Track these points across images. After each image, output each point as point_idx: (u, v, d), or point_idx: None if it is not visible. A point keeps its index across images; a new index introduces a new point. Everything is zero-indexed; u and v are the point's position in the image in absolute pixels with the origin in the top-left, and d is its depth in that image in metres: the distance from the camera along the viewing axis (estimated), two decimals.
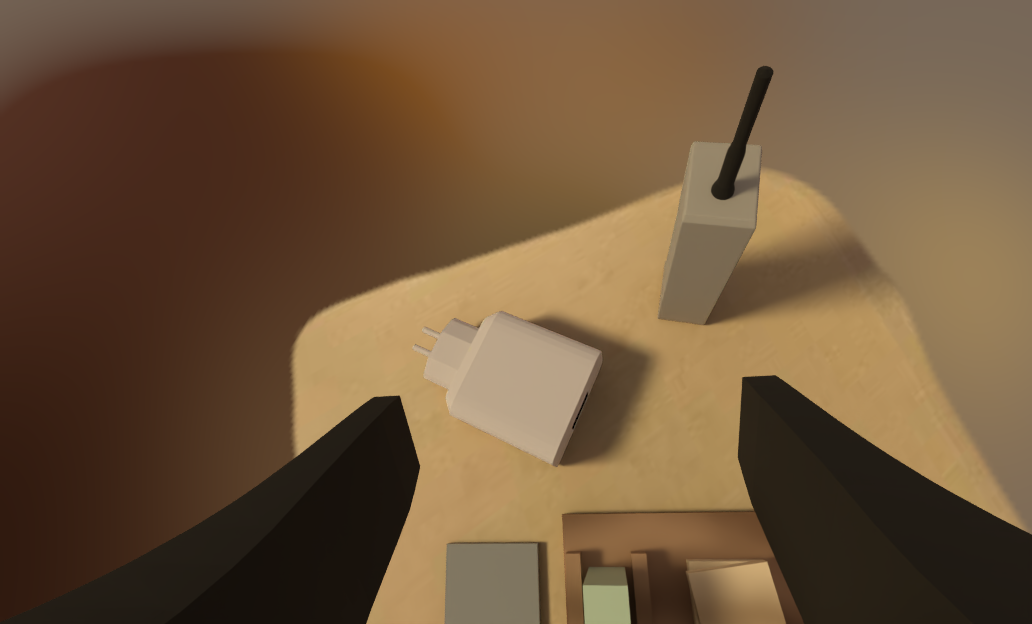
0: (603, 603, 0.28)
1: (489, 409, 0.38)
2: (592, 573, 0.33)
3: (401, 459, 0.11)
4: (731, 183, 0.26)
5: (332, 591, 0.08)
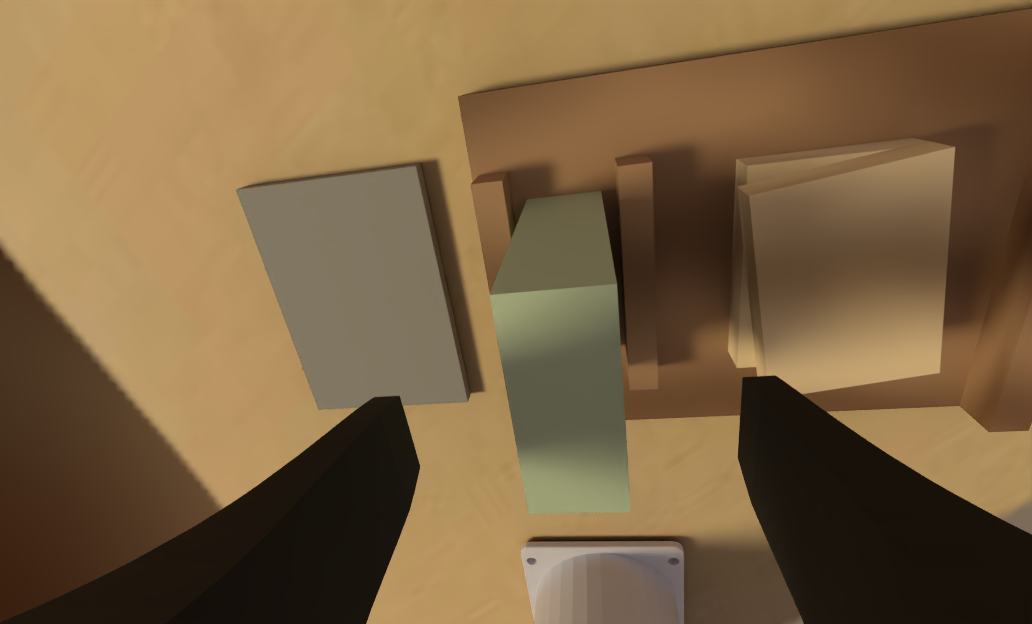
0: (549, 331, 0.10)
1: None
2: (528, 225, 0.14)
3: (401, 459, 0.11)
4: None
5: (332, 591, 0.08)
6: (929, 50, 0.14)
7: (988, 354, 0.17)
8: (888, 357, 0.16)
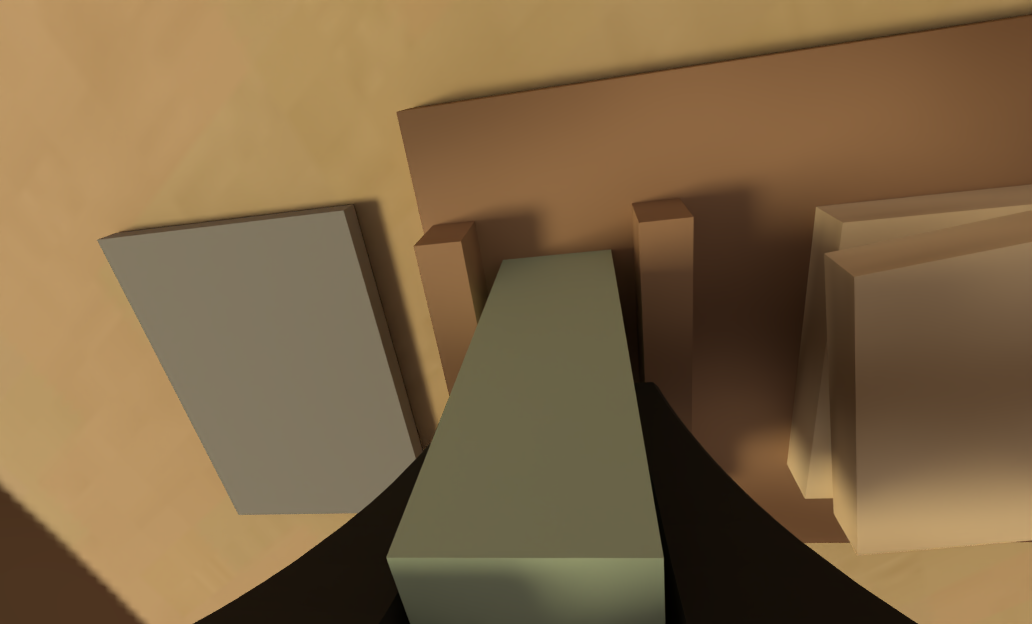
0: (517, 622, 0.05)
1: None
2: (498, 322, 0.09)
3: None
4: None
5: None
6: None
7: None
8: None
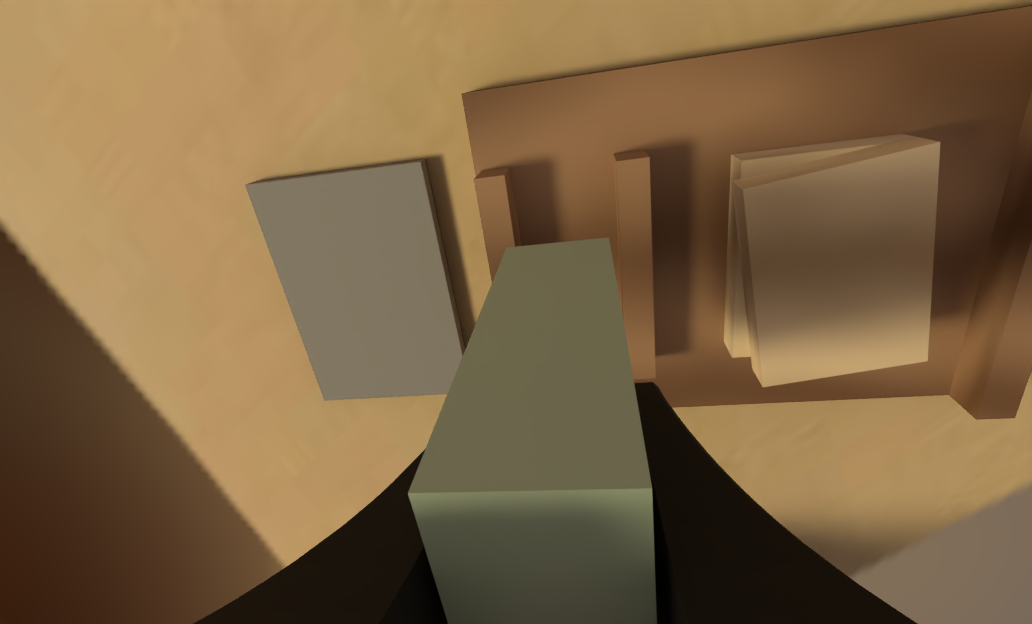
0: (524, 553, 0.05)
1: None
2: (503, 302, 0.09)
3: None
4: None
5: None
6: (916, 49, 0.15)
7: (975, 344, 0.18)
8: (878, 346, 0.16)
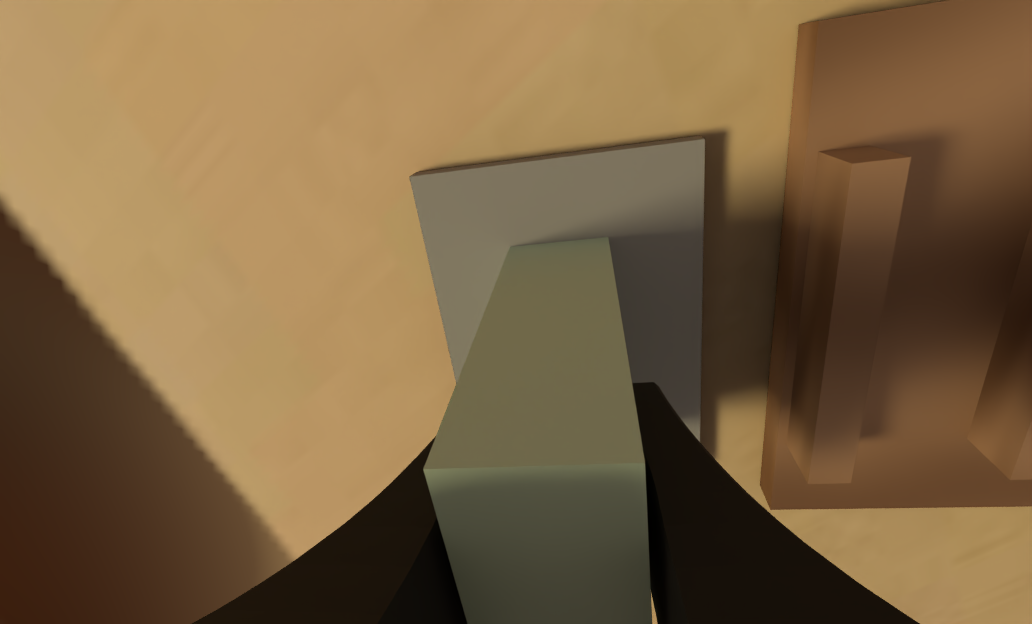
0: (528, 525, 0.06)
1: None
2: (507, 298, 0.10)
3: None
4: None
5: None
6: None
7: None
8: None
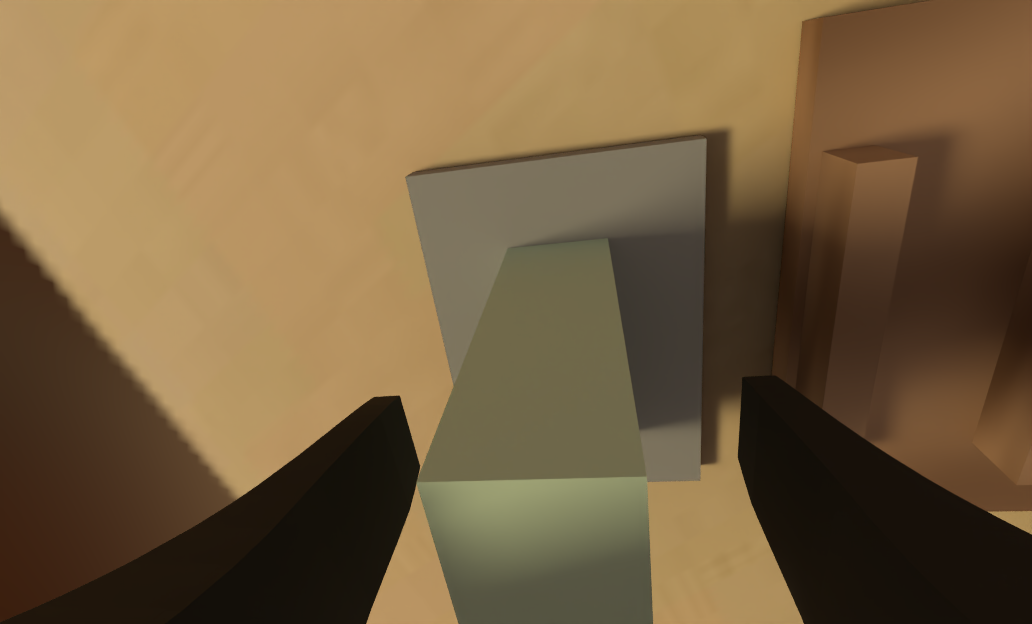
0: (525, 540, 0.06)
1: None
2: (504, 301, 0.10)
3: (401, 459, 0.11)
4: None
5: (332, 591, 0.08)
6: None
7: None
8: None
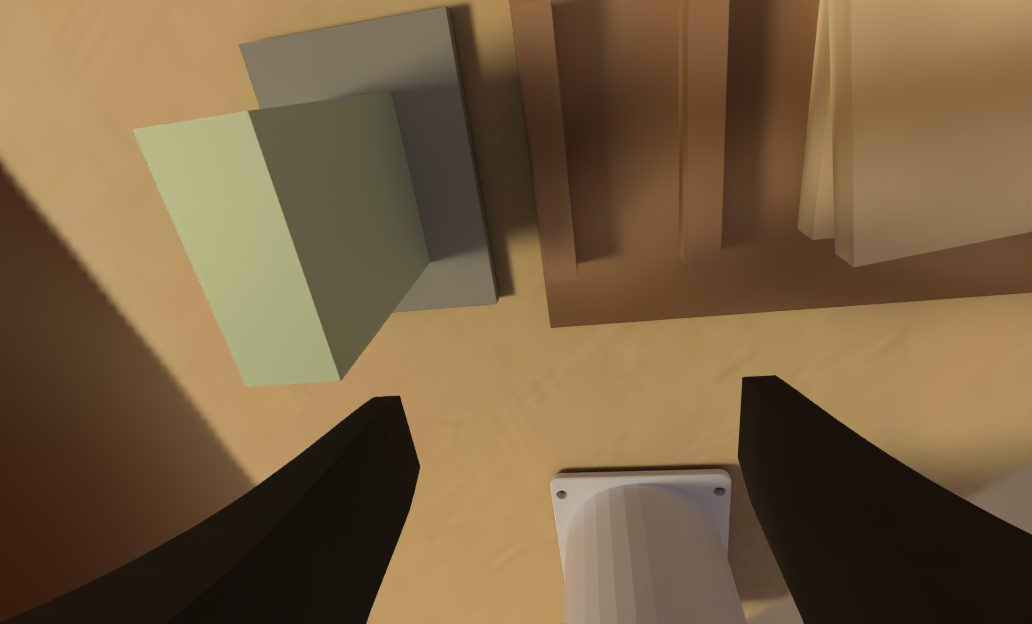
0: (201, 170, 0.10)
1: None
2: None
3: (401, 459, 0.11)
4: None
5: (332, 591, 0.08)
6: None
7: None
8: (1000, 207, 0.13)
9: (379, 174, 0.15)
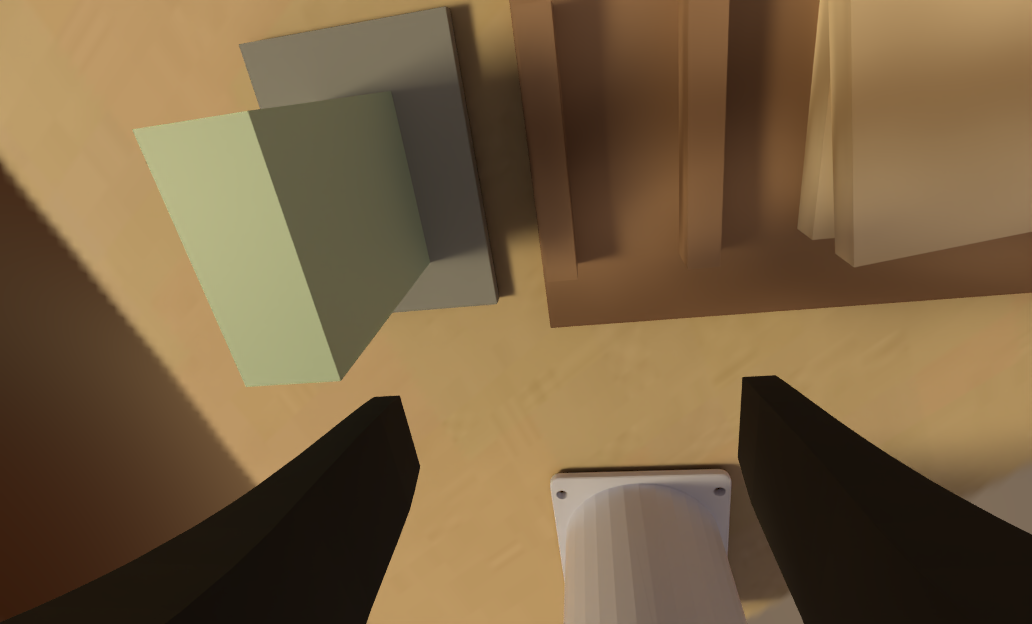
0: (201, 170, 0.10)
1: None
2: None
3: (401, 459, 0.11)
4: None
5: (332, 591, 0.08)
6: None
7: None
8: (1000, 207, 0.13)
9: (379, 174, 0.15)
